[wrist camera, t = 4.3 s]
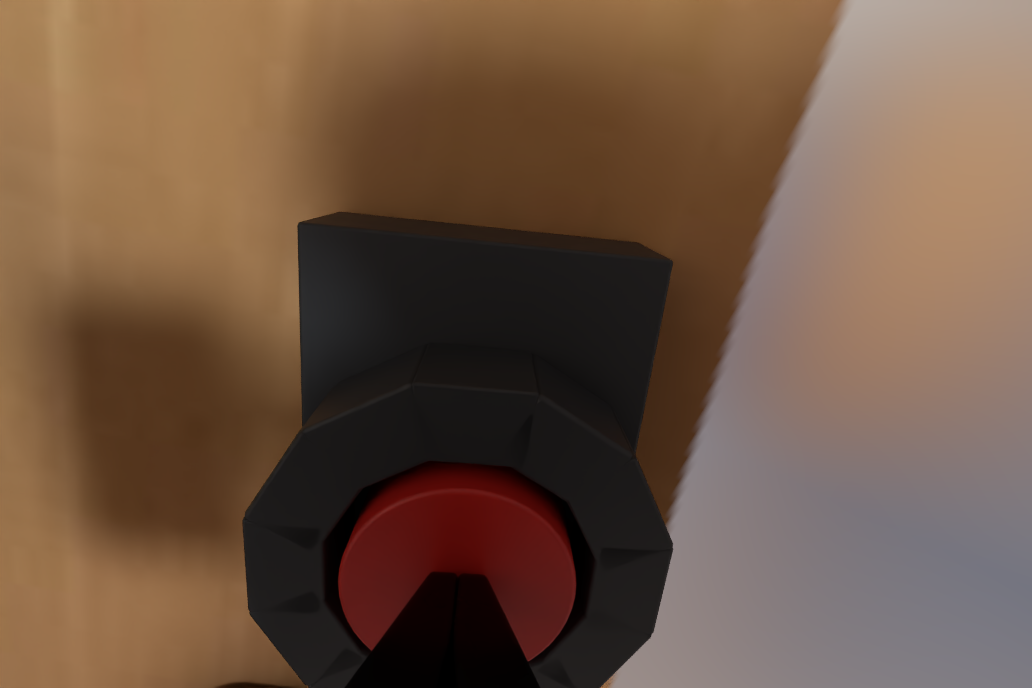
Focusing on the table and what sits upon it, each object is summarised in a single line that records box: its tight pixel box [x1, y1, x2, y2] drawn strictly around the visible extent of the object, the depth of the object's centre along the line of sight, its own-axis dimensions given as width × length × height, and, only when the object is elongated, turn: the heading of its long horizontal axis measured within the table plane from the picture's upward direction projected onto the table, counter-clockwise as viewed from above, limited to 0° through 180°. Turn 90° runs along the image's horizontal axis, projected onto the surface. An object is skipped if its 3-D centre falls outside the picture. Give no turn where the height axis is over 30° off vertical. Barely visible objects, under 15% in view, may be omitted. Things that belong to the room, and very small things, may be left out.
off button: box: [338, 461, 576, 661], centre depth 9 cm, size 4×4×2 cm
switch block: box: [243, 212, 673, 688], centre depth 10 cm, size 10×6×4 cm, turn 174°
